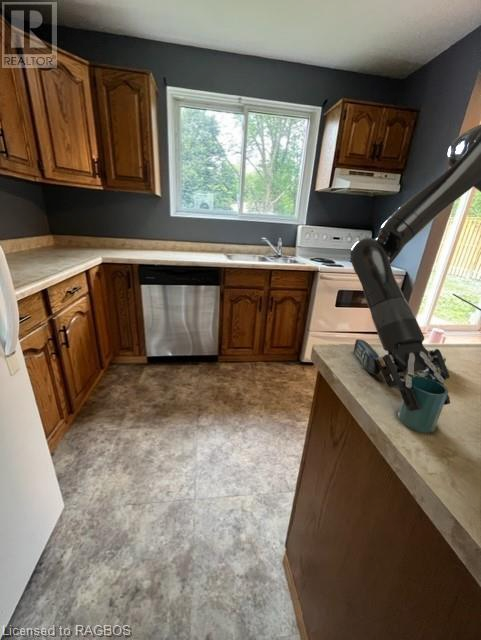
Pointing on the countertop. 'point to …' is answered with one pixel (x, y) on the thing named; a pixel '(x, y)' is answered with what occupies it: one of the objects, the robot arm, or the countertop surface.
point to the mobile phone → (367, 357)
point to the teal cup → (424, 405)
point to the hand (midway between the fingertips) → (430, 407)
